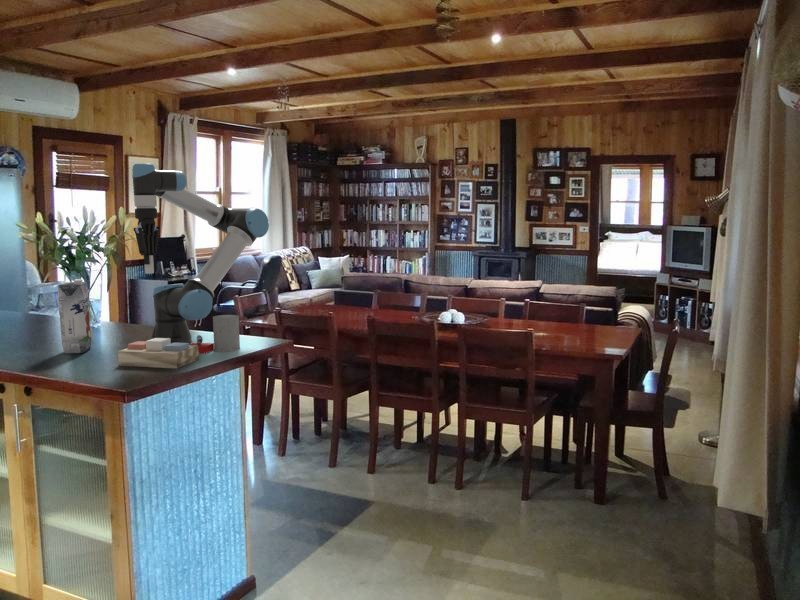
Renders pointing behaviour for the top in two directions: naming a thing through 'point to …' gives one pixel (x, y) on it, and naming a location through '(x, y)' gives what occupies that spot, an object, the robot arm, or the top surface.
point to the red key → (137, 345)
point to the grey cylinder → (226, 333)
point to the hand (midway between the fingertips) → (149, 273)
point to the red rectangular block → (203, 345)
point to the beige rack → (158, 357)
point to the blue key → (176, 346)
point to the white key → (157, 343)
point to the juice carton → (74, 316)
